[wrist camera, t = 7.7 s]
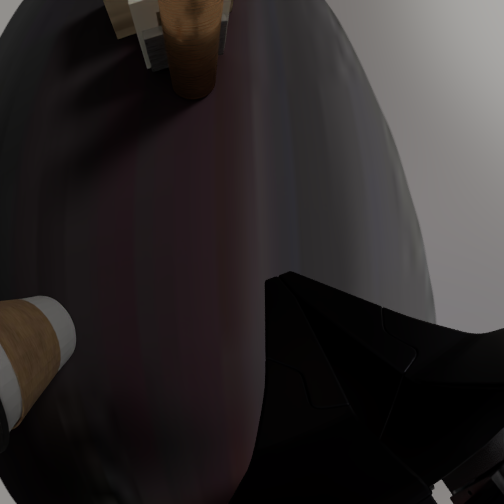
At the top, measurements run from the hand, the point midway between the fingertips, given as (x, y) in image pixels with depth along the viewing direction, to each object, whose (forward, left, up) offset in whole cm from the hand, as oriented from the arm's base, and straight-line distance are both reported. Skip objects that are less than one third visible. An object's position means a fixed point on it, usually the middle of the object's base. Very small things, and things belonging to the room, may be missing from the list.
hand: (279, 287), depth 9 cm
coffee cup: (0, +17, -13) cm, 22 cm away
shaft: (+24, -1, -13) cm, 28 cm away
